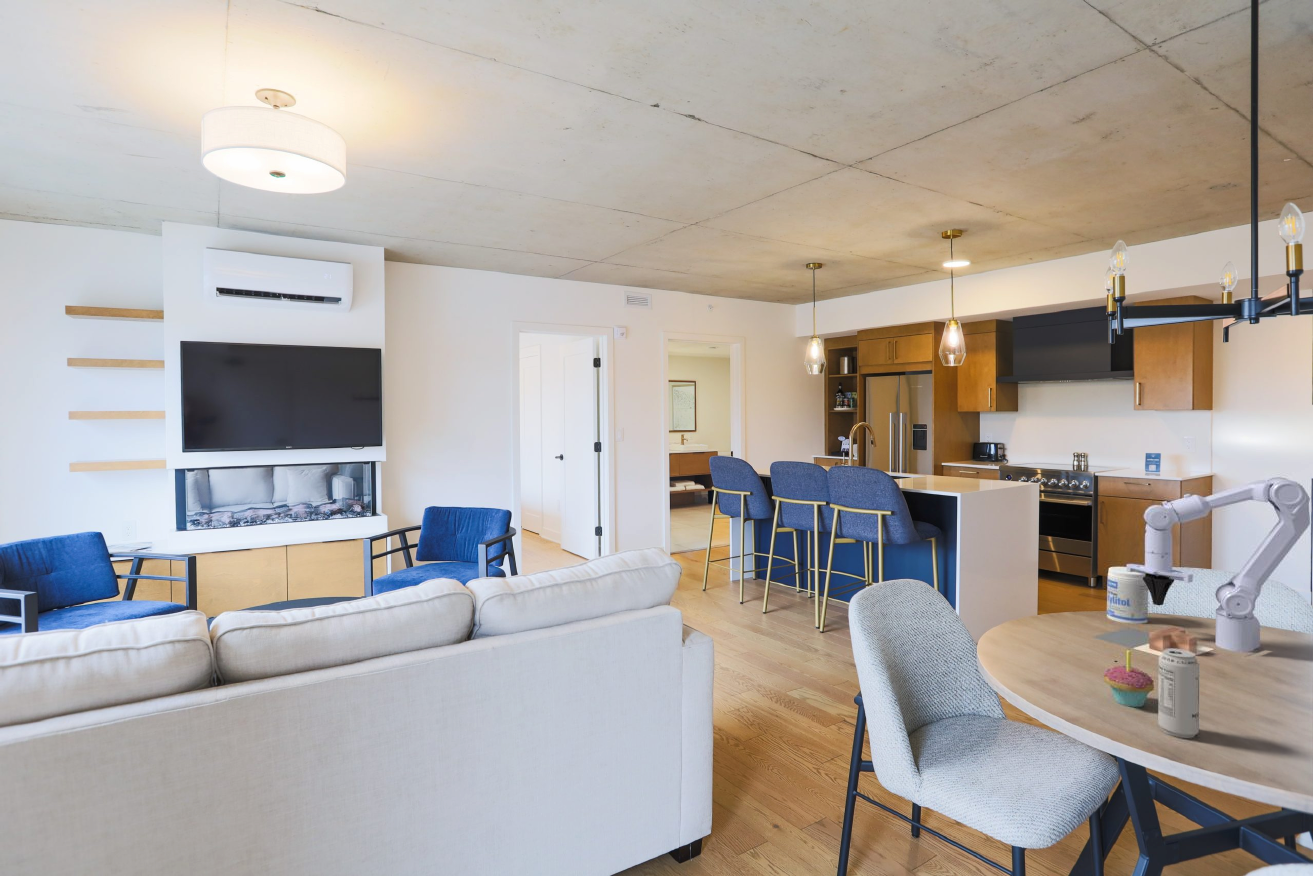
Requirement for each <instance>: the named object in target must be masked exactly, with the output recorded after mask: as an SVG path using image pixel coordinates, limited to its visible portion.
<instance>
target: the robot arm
mask: <svg viewBox="0 0 1313 876" xmlns="http://www.w3.org/2000/svg"><path fill="white" fill-rule="evenodd" d="M1310 500H1311V498H1310V496H1309V494H1308V493H1307V491H1306V490H1305V488H1304V487H1303V486H1302V484H1300V483H1299V482H1297V481H1293V480H1290V479H1288V478H1285V477H1281V476H1276V477H1272V478H1269V479H1262V480H1256V481H1253V482H1252V481H1251V482H1249V483H1245V484H1242V485H1239V486H1236V487H1233V488H1229V489H1225V490H1222V491H1220V492H1217V493H1214V494H1211V495H1208V496H1205V497H1204V496H1201V495H1198V494H1192V495H1191V493H1186V494H1184V495H1183V497H1182V498H1178V499H1175V500H1172V501H1167V500H1164V501H1162V502H1161V503H1162V505H1160V504H1154V505H1150V506H1149V507H1148V508H1146V509H1145V511H1144V514H1143V519H1144V521H1145V522H1146V524H1145V525H1146V526H1145V534H1144V564H1138V563H1136V564H1135V563H1127V564H1126V567H1127V572H1136V573H1141V574H1145V577H1143V581H1144V582H1145V584H1146V585H1147V587H1148V592H1149V593H1150V597H1151V600H1152V604H1153V605H1155V606H1163V605H1164V602H1165V599H1166V596H1167V594H1168V591H1169V590H1170V588H1171V586H1172V585H1173V583H1174V582H1175V581H1181V582H1184V583H1187V584H1189V583H1193V582H1194V581H1193V573H1188V572H1183V571H1180V570H1175V569H1173V534H1172V527H1173V526H1174V524H1178V525H1179V524H1182V523H1186V522H1190V521H1193V520H1197V519H1201V518H1203V517H1207V516H1208V515H1209V513H1210V511H1211V510H1215V509H1218V508H1221V507H1226V506H1229V505H1234V504H1238V503H1242V502H1246V501H1256V502H1263V503H1270V505H1272V506H1273V508H1274V511H1275V513H1276V515H1277V517H1278V521H1277V522H1276V524H1275V525H1274V526H1273V527H1272V529H1271V530H1270V532H1269V533H1268V534H1267V536H1266V537H1265V538H1264V540H1263V541H1262V542H1261V544H1259V546H1258V548H1257V549H1256V550H1255V551H1254V553H1253V554H1252V555H1251V556H1250V558H1249V559H1248V560H1247V561H1246V563H1245V564H1244V566H1243V567H1242V568H1241V569H1240V571H1239V572H1238V573H1237V574H1235V575H1234V576H1232V577H1231V578H1230V579H1229V580H1228V581H1227V582H1226V583H1224V584H1222V585H1219V587H1218V588H1217V589H1216V590H1215V593H1214V594H1215V599H1216V601H1217V602H1218V604H1220V605H1219V606H1218V608H1216V609H1215V646H1217V647H1219V648H1221V649H1223V650H1227V651H1232V652H1239V653H1240V652H1241V653H1251V652H1253V651H1254V650H1255V649H1257V648H1260V647H1261V624H1260V621H1259V618H1257V617H1256V616H1255V614H1254V613H1253V612H1254V611H1255V609H1256V602H1257V599H1258V598H1259V596H1260V594H1261V591H1262V588H1263V585H1264V584H1265V583H1266V582H1267V580H1268V579H1269V577H1270V576H1272V574H1273V573H1274V571H1275V570H1276V569H1277V567H1278V566H1279V565H1280V564H1281V562H1282V561H1283V560H1284V558H1285V557H1286V556H1287V555H1288V553H1289V552H1290V551H1291V550H1292V548H1293V547H1294V546H1295V544H1296V543H1297V542H1298V540H1299V539H1300V538H1301V537H1302V536H1303V534H1304V532H1306V530H1307V529H1308V528H1309V526H1310V525H1311V518H1310V502H1311V501H1310ZM1264 651H1265V649H1263V650H1260V651H1258V652H1257V651H1256V652H1254V653H1251V654H1249V655H1246V656H1247V657H1250V656H1253V655H1255V654H1258V653H1261V652H1264ZM1246 656H1244V657H1245V658H1246Z"/></svg>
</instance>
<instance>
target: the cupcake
mask: <svg viewBox="0 0 1313 876" xmlns="http://www.w3.org/2000/svg"><path fill="white" fill-rule="evenodd" d="M1127 649H1128V650H1126V665H1118V666H1114V667H1111V668H1108V669H1107V670H1106V671H1105V672H1104V673H1103V681H1104V682H1105V683H1107V685H1109V687H1110V689H1111V691H1112V693H1113V694H1112V695H1113V696H1114V699H1115V702H1116V703H1118V704H1120V705H1123V706H1126V707H1127V706H1128V707H1130V708H1140V707H1143V706H1144V704H1145V701H1146V699H1147V696H1148V695H1149V693H1150V692H1152V691H1154V690H1155V685H1154V683H1155V682H1154V679H1152V677H1151V676H1149V674H1148V673H1146V672H1143V670H1139V668H1136V667H1132V662H1131V661H1132V651H1131V649H1130V647H1127Z"/></svg>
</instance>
